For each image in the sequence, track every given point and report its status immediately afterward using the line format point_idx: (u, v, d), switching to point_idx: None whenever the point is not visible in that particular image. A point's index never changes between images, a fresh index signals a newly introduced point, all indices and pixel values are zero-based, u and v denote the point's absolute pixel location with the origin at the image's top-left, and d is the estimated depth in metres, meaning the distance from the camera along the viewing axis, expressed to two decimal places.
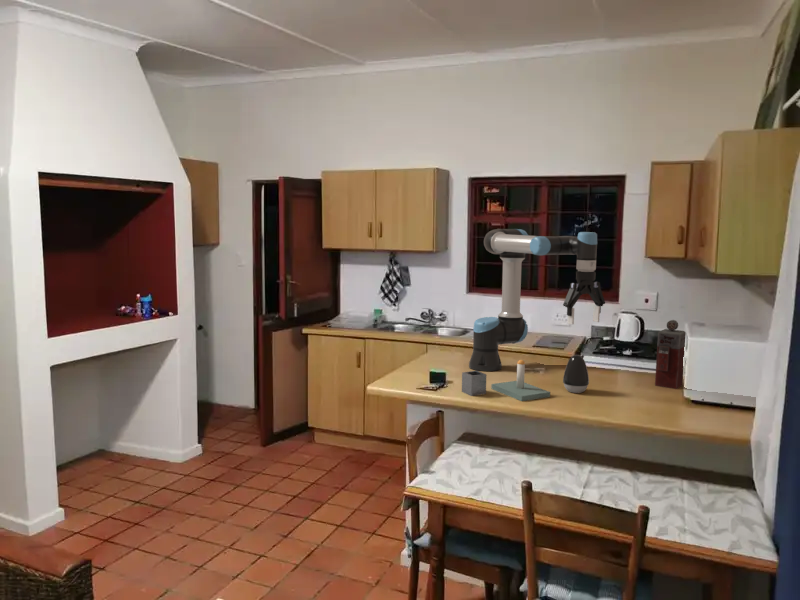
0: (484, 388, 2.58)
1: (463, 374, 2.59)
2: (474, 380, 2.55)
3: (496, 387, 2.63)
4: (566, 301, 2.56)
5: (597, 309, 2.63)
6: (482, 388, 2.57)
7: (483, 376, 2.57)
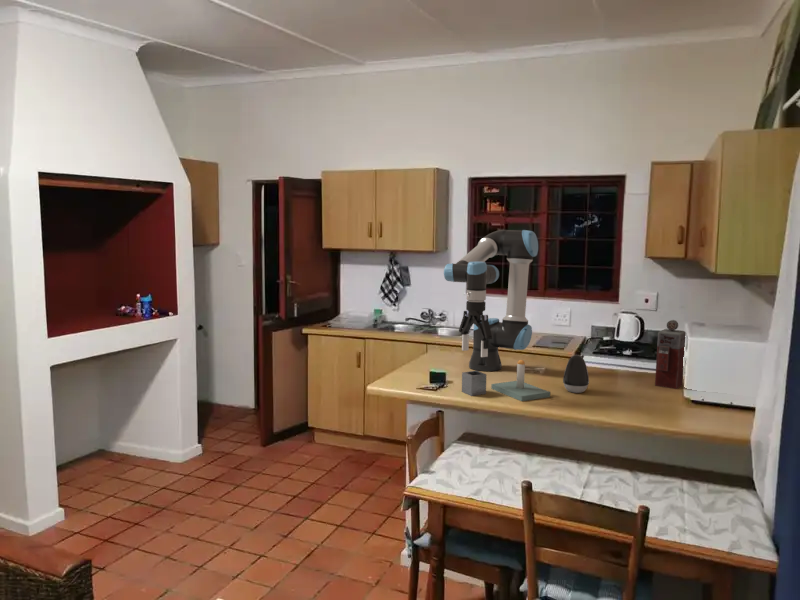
0: (484, 388, 2.58)
1: (463, 374, 2.59)
2: (474, 380, 2.55)
3: (496, 387, 2.63)
4: None
5: None
6: (482, 388, 2.57)
7: (483, 376, 2.57)
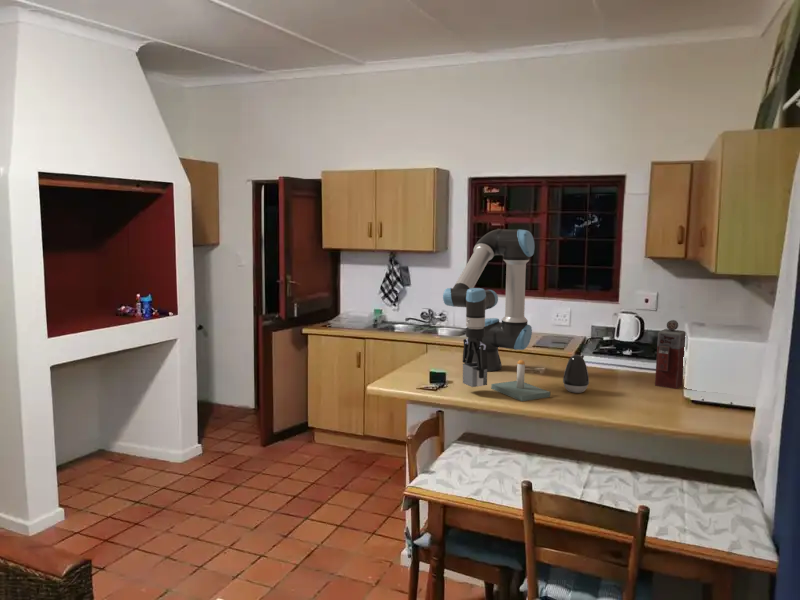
0: (485, 379, 2.58)
1: (464, 365, 2.59)
2: (475, 371, 2.55)
3: (496, 387, 2.63)
4: None
5: None
6: (483, 379, 2.57)
7: None
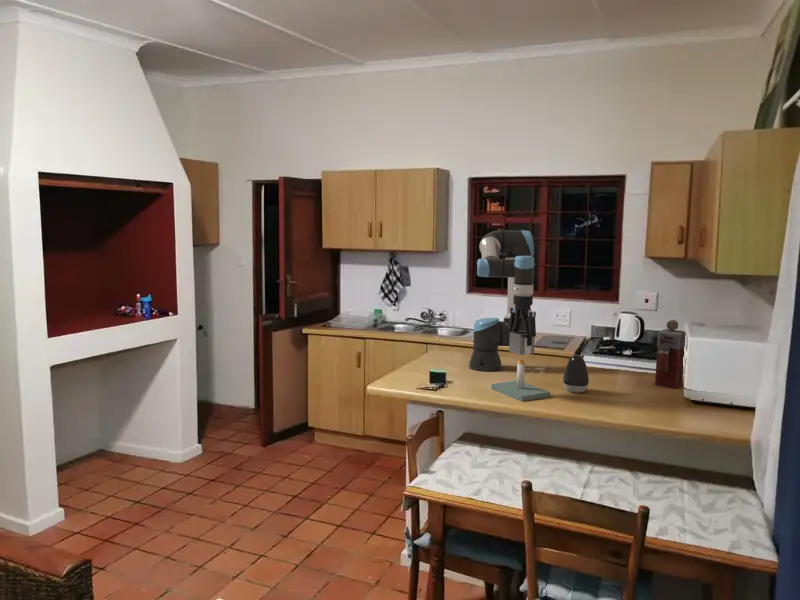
0: (532, 347, 2.56)
1: (511, 334, 2.58)
2: (523, 339, 2.53)
3: (496, 387, 2.63)
4: None
5: None
6: None
7: None
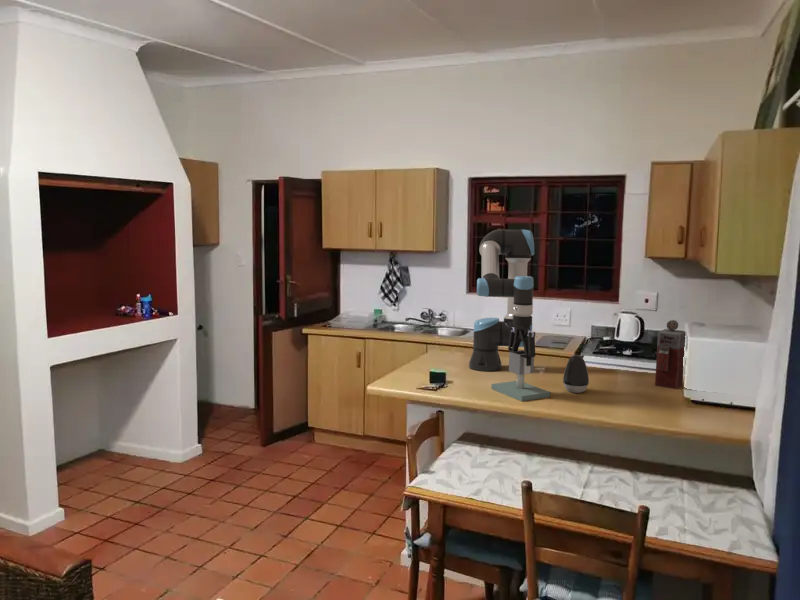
0: (532, 367, 2.57)
1: (510, 353, 2.59)
2: (522, 359, 2.54)
3: (496, 387, 2.63)
4: None
5: None
6: (530, 367, 2.57)
7: None
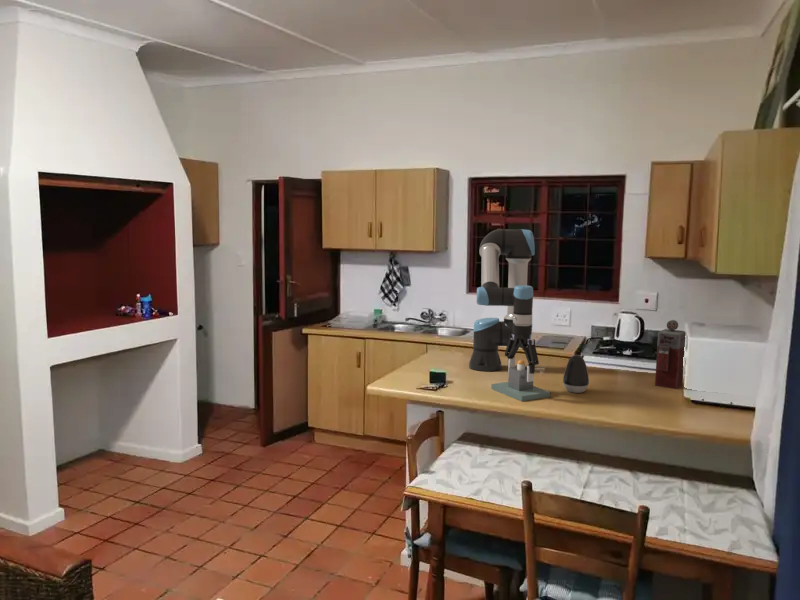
0: (531, 383, 2.58)
1: (510, 369, 2.60)
2: (522, 375, 2.55)
3: (496, 387, 2.63)
4: None
5: None
6: (529, 383, 2.58)
7: None
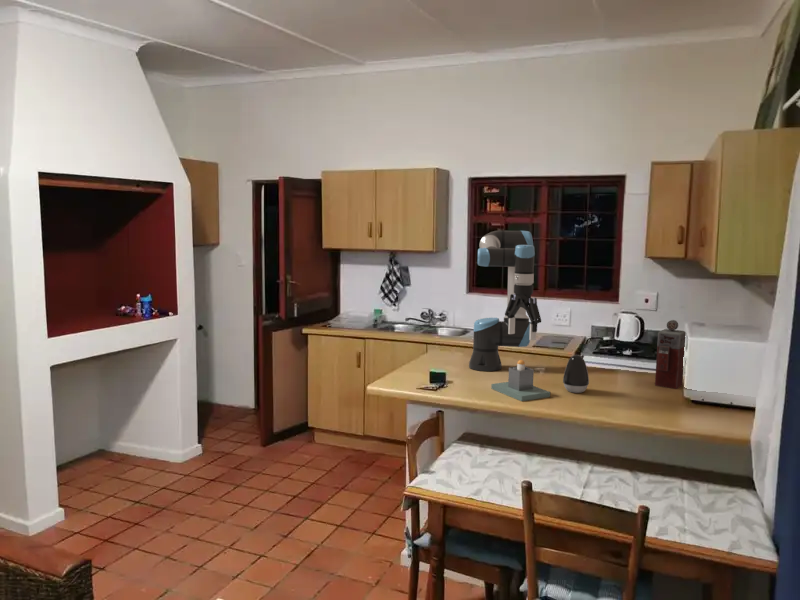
0: (531, 383, 2.58)
1: (510, 369, 2.60)
2: (522, 375, 2.55)
3: (496, 387, 2.63)
4: None
5: None
6: (529, 383, 2.58)
7: (530, 371, 2.57)
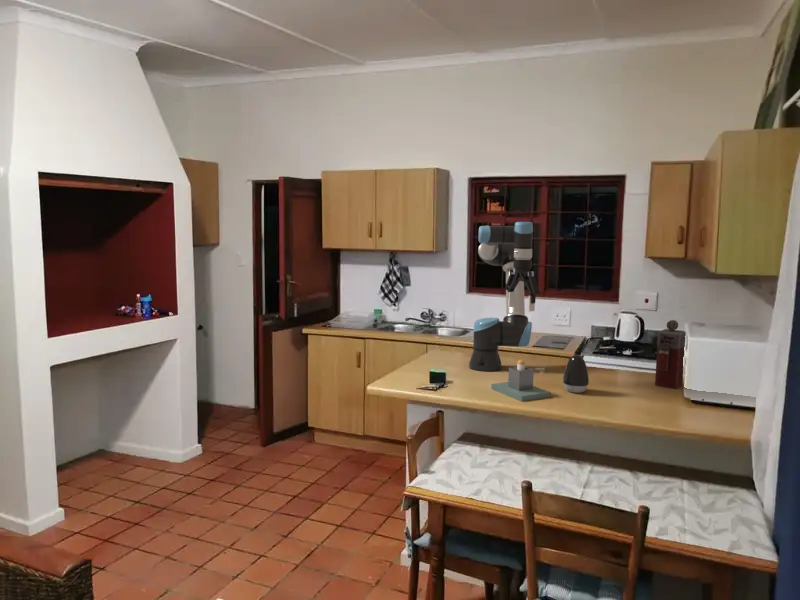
0: (531, 383, 2.58)
1: (510, 369, 2.60)
2: (522, 375, 2.55)
3: (496, 387, 2.63)
4: None
5: None
6: (529, 383, 2.58)
7: (530, 371, 2.57)
